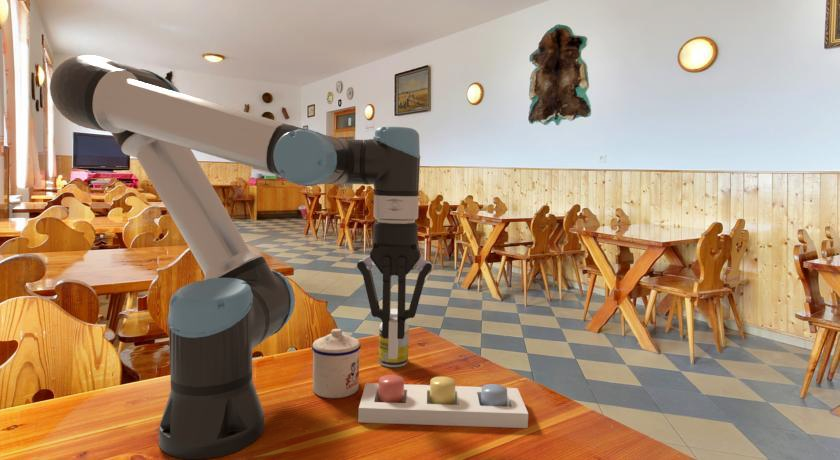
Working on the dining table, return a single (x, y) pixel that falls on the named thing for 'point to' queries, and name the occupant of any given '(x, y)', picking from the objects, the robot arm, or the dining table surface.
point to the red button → (391, 389)
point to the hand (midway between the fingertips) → (392, 356)
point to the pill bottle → (402, 346)
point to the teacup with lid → (336, 365)
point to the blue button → (493, 395)
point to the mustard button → (442, 390)
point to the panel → (442, 408)
